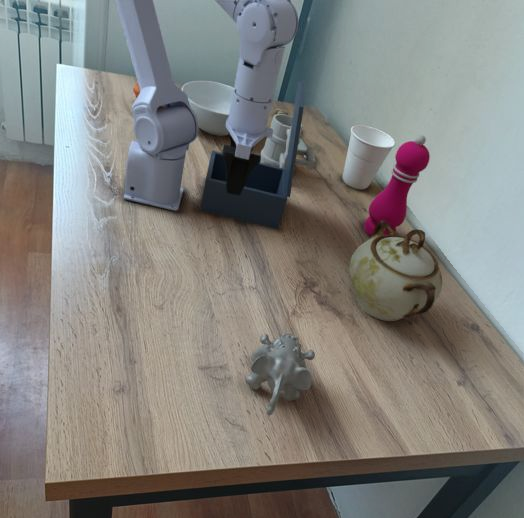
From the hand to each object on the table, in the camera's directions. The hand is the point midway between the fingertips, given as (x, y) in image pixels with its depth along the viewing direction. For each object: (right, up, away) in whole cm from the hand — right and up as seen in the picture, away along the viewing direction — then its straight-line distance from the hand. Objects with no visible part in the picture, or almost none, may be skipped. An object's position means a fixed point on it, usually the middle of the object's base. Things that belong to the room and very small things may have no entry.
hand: (234, 181), depth 86 cm
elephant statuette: (+6, -33, -15) cm, 37 cm away
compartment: (0, +1, +16) cm, 16 cm away
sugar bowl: (+24, -19, +4) cm, 31 cm away
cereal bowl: (-7, +24, +37) cm, 45 cm away
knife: (+13, +24, +44) cm, 52 cm away
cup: (+25, +11, +35) cm, 44 cm away
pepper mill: (+27, -3, +22) cm, 35 cm away
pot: (-21, +28, +37) cm, 51 cm away
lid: (+10, +10, +7) cm, 15 cm away
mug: (+8, +12, +30) cm, 34 cm away
